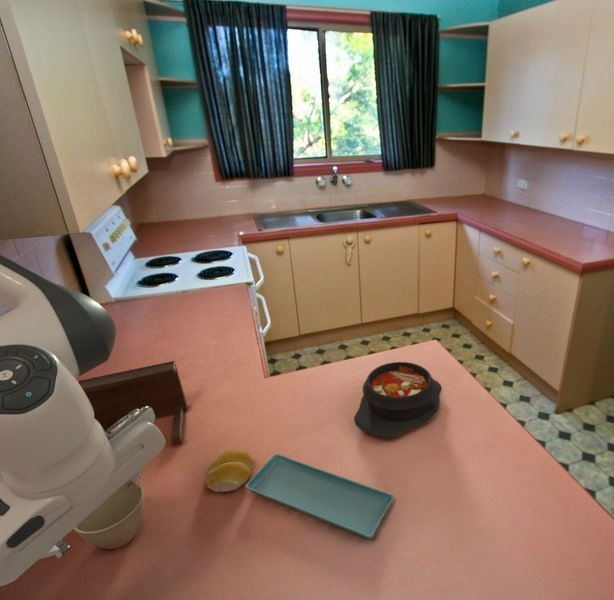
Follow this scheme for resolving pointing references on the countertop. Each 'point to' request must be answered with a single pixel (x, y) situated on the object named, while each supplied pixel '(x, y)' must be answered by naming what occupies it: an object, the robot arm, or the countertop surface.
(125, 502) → the beige bowl
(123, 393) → the cup rack
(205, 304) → the countertop surface
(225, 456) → the bread roll
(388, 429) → the casserole
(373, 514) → the rectangular tray
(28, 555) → the robot arm
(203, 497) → the countertop surface
